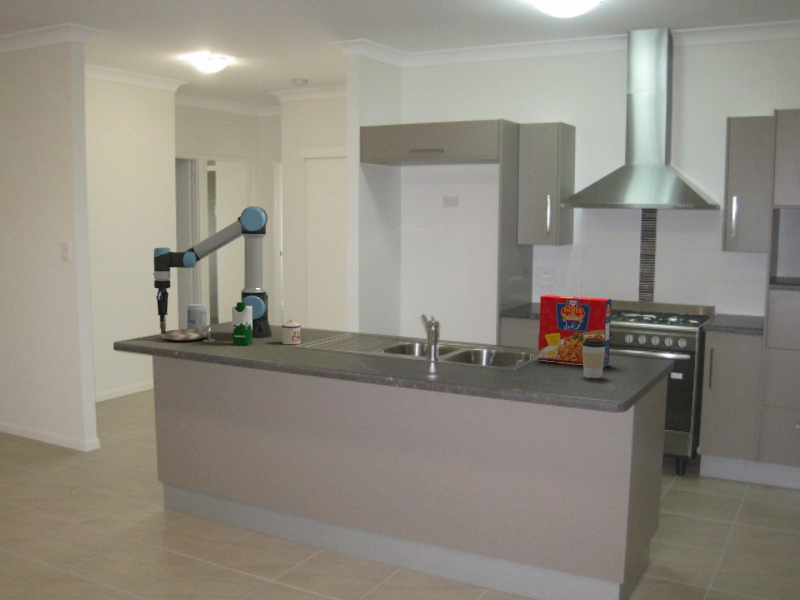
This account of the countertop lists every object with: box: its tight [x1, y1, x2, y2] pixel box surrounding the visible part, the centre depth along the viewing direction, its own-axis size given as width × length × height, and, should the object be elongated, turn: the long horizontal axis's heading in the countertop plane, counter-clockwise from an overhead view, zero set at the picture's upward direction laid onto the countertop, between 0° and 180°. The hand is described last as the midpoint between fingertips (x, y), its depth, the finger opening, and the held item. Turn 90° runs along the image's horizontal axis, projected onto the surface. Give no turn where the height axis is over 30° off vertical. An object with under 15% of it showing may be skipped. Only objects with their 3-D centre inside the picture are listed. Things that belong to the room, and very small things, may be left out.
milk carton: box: [231, 301, 253, 347], centre depth 384 cm, size 9×9×20 cm
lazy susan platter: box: [160, 322, 207, 340], centre depth 396 cm, size 22×22×7 cm
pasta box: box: [538, 294, 612, 366], centre depth 344 cm, size 28×8×28 cm, turn 60°
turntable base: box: [169, 339, 200, 343], centre depth 397 cm, size 14×14×2 cm
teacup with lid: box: [281, 318, 302, 345], centre depth 389 cm, size 12×9×12 cm
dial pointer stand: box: [202, 326, 216, 343], centre depth 391 cm, size 5×4×7 cm
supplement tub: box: [186, 303, 208, 331], centre depth 418 cm, size 10×10×15 cm
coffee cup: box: [582, 339, 606, 378], centre depth 315 cm, size 9×9×15 cm
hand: (163, 328), depth 394 cm, fingers closed
